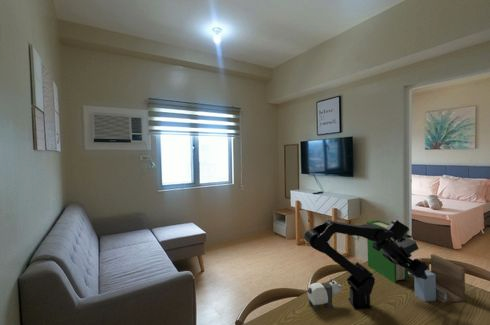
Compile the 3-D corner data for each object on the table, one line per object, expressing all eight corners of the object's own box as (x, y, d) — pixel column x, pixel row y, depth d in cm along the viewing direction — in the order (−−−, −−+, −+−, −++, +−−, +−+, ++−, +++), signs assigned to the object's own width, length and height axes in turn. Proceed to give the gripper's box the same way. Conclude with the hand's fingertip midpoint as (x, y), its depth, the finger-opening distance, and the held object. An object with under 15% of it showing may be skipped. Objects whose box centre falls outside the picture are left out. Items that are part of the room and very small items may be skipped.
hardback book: (408, 280, 114) (407, 229, 113) (394, 282, 112) (393, 231, 112) (380, 264, 131) (379, 220, 130) (368, 266, 130) (366, 221, 129)
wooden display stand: (442, 302, 97) (442, 270, 96) (414, 284, 110) (414, 256, 110) (465, 300, 97) (464, 268, 97) (434, 282, 111) (434, 254, 111)
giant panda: (312, 311, 94) (311, 287, 94) (305, 303, 100) (304, 280, 99) (346, 305, 97) (345, 282, 97) (338, 298, 103) (337, 275, 102)
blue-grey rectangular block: (424, 301, 98) (424, 275, 98) (414, 294, 103) (414, 270, 103) (435, 300, 98) (435, 274, 98) (425, 293, 103) (425, 268, 103)
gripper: (422, 241, 90) (450, 268, 91) (388, 226, 108) (411, 249, 110) (403, 264, 89) (432, 291, 91) (372, 246, 108) (396, 268, 109)
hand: (417, 272), depth 100 cm, fingers open, 9 cm apart
